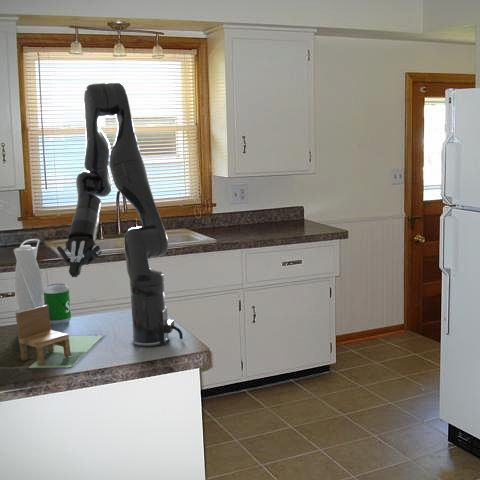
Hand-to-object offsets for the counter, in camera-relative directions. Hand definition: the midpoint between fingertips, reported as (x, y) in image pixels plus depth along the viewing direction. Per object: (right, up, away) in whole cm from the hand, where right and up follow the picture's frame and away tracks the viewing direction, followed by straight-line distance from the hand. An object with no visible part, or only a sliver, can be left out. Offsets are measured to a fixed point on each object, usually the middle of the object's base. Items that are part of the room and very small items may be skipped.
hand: (73, 275), depth 205 cm
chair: (-3, -21, -12) cm, 25 cm away
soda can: (-13, -16, +23) cm, 31 cm away
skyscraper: (-17, -18, +13) cm, 28 cm away
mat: (0, -20, -5) cm, 21 cm away
